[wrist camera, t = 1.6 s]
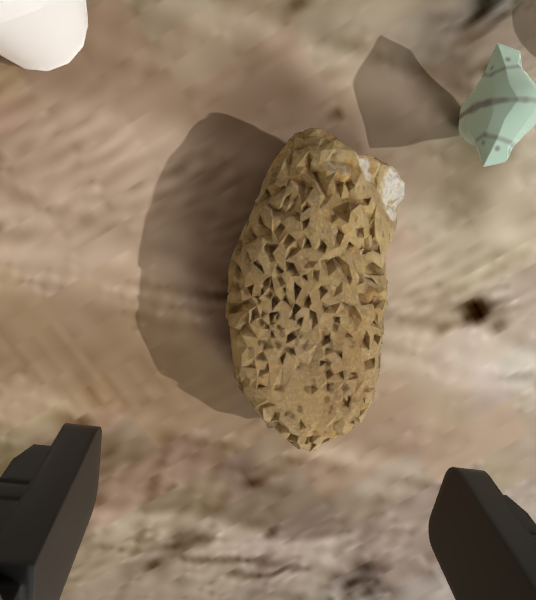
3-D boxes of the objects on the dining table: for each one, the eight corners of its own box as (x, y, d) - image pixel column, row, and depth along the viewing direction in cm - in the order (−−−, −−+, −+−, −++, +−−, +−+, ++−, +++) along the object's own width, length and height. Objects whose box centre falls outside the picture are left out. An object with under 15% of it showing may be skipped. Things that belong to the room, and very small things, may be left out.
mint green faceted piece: (448, 66, 36) (509, 27, 30) (497, 73, 37) (566, 37, 31) (437, 175, 37) (493, 161, 31) (484, 180, 38) (550, 167, 31)
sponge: (258, 140, 36) (161, 403, 32) (313, 98, 29) (195, 430, 25) (392, 216, 41) (320, 450, 38) (466, 197, 34) (385, 484, 30)
